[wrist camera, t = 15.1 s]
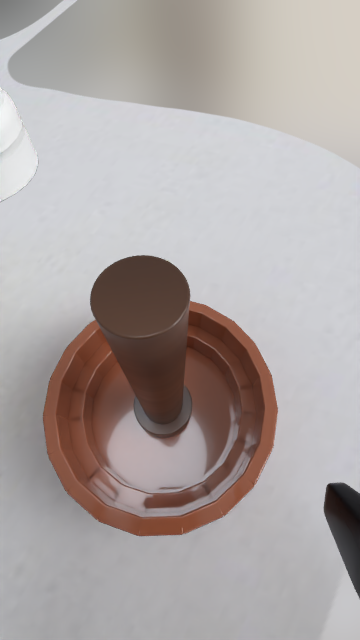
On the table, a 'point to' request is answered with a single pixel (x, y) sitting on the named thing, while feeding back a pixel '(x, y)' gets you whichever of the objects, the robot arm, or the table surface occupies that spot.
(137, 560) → the table surface
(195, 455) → the bowl
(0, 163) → the honey pot
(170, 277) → the brown peg
